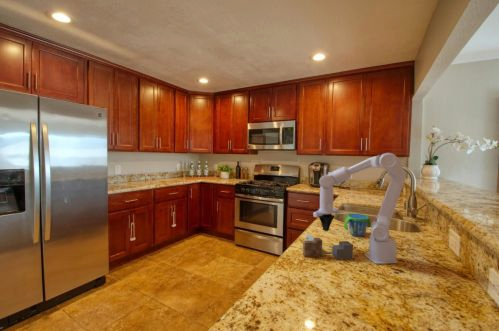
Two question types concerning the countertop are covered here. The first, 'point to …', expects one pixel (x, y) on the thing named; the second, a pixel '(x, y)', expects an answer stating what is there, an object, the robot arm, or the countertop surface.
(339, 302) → the countertop surface
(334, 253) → the stepped block
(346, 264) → the countertop surface
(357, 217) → the snack cup
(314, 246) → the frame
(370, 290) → the countertop surface
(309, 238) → the pale grey bar
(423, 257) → the countertop surface
